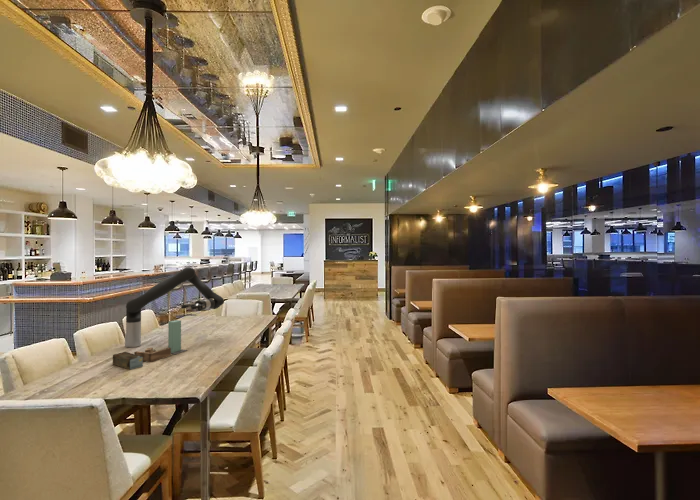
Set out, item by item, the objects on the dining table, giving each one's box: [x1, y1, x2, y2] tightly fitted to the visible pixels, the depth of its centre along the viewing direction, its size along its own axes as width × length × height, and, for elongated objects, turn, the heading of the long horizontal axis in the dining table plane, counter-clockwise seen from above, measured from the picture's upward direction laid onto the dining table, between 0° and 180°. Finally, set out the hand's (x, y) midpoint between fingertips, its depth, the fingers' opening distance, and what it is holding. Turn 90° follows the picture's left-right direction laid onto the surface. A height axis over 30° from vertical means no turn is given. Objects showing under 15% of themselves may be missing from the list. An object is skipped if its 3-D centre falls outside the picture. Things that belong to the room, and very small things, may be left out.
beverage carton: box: [112, 351, 144, 370], centre depth 223 cm, size 8×19×7 cm, turn 58°
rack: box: [133, 347, 172, 363], centre depth 240 cm, size 14×16×5 cm
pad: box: [171, 348, 188, 356], centre depth 254 cm, size 11×11×1 cm
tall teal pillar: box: [167, 319, 182, 353], centre depth 254 cm, size 4×7×20 cm, turn 162°
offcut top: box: [144, 347, 154, 353], centre depth 240 cm, size 3×6×3 cm, turn 17°
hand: (186, 307), depth 265 cm, fingers open, 8 cm apart
